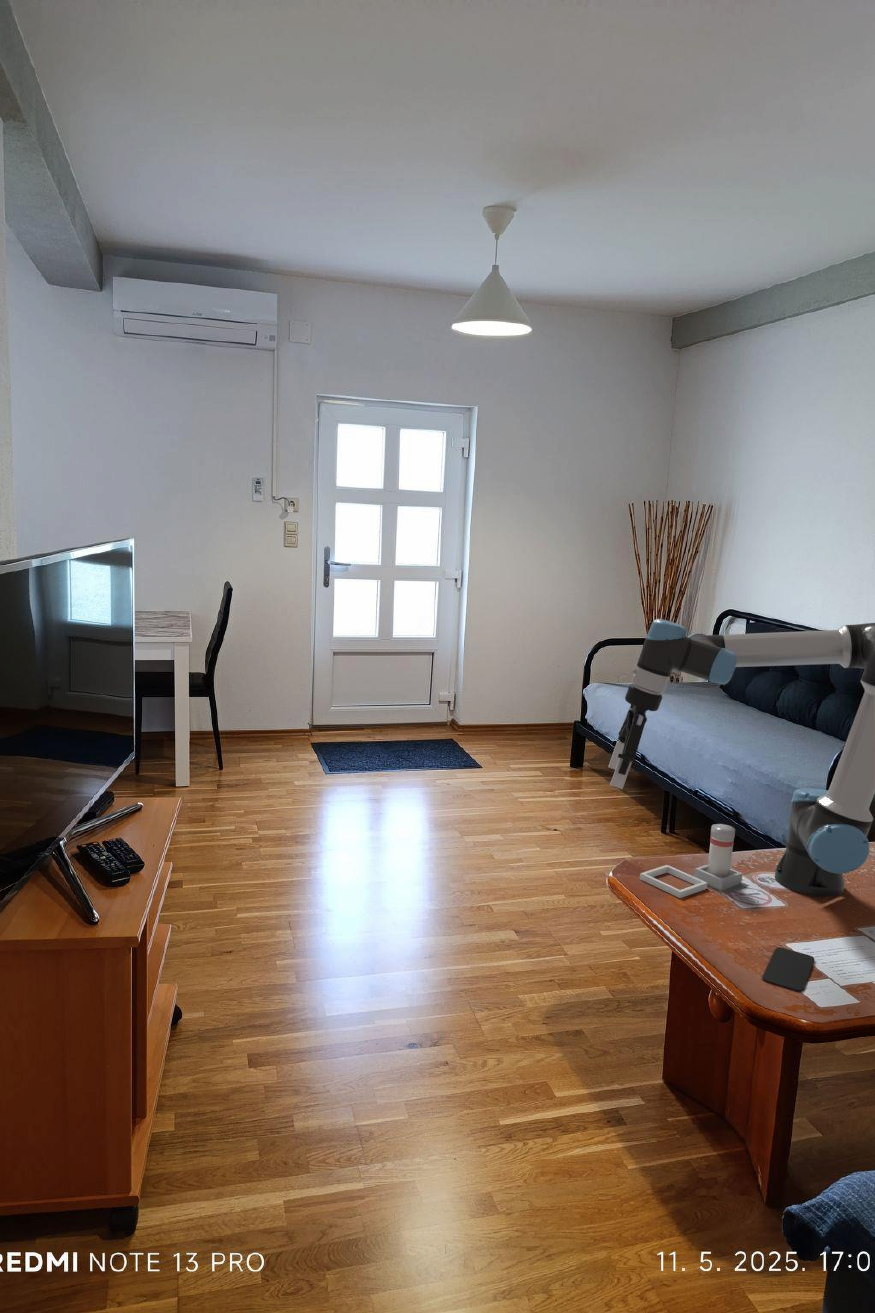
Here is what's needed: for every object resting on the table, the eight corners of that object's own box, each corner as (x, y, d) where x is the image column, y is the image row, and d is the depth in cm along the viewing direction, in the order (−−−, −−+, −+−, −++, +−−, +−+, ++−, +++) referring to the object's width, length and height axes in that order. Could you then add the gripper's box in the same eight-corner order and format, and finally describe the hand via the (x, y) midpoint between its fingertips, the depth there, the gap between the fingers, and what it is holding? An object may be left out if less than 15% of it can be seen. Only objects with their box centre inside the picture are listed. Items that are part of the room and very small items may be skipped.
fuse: (733, 882, 210) (739, 829, 208) (720, 887, 207) (726, 833, 204) (715, 874, 214) (720, 822, 212) (701, 879, 211) (707, 826, 209)
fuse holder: (749, 887, 209) (750, 875, 208) (725, 896, 203) (726, 883, 203) (709, 870, 217) (710, 858, 217) (685, 879, 212) (687, 866, 212)
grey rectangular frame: (706, 891, 206) (707, 882, 206) (679, 900, 200) (680, 892, 200) (666, 872, 215) (667, 864, 215) (639, 881, 209) (640, 873, 209)
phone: (760, 979, 168) (776, 946, 181) (760, 983, 168) (775, 949, 181) (802, 991, 164) (815, 956, 177) (802, 995, 164) (815, 960, 177)
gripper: (627, 673, 210) (597, 757, 214) (633, 695, 185) (600, 789, 189) (658, 683, 209) (628, 767, 213) (668, 706, 184) (634, 800, 189)
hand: (615, 777), depth 201 cm, fingers open, 13 cm apart
